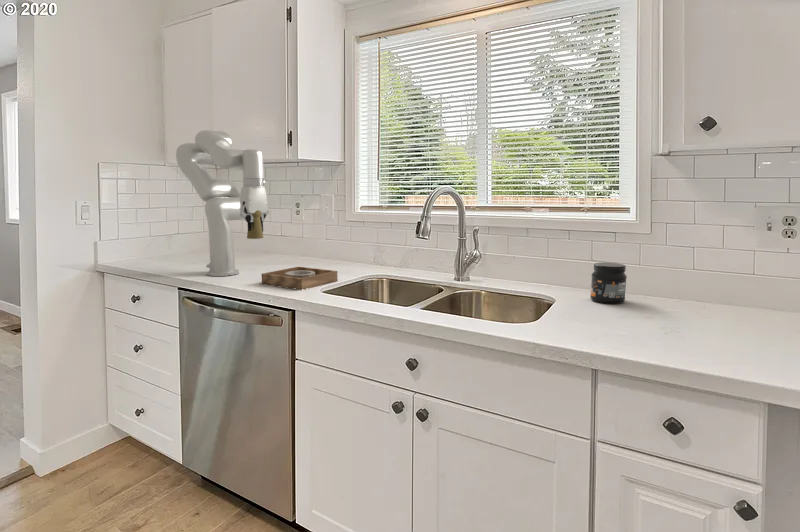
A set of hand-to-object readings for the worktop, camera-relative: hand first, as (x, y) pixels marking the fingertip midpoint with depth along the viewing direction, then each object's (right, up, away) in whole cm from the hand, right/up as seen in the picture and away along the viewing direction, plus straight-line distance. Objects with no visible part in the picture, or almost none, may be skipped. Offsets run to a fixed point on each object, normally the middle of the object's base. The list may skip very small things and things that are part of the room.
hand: (255, 231), depth 197 cm
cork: (0, -3, 0) cm, 3 cm away
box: (+17, -19, +1) cm, 26 cm away
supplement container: (+122, -25, -29) cm, 128 cm away
